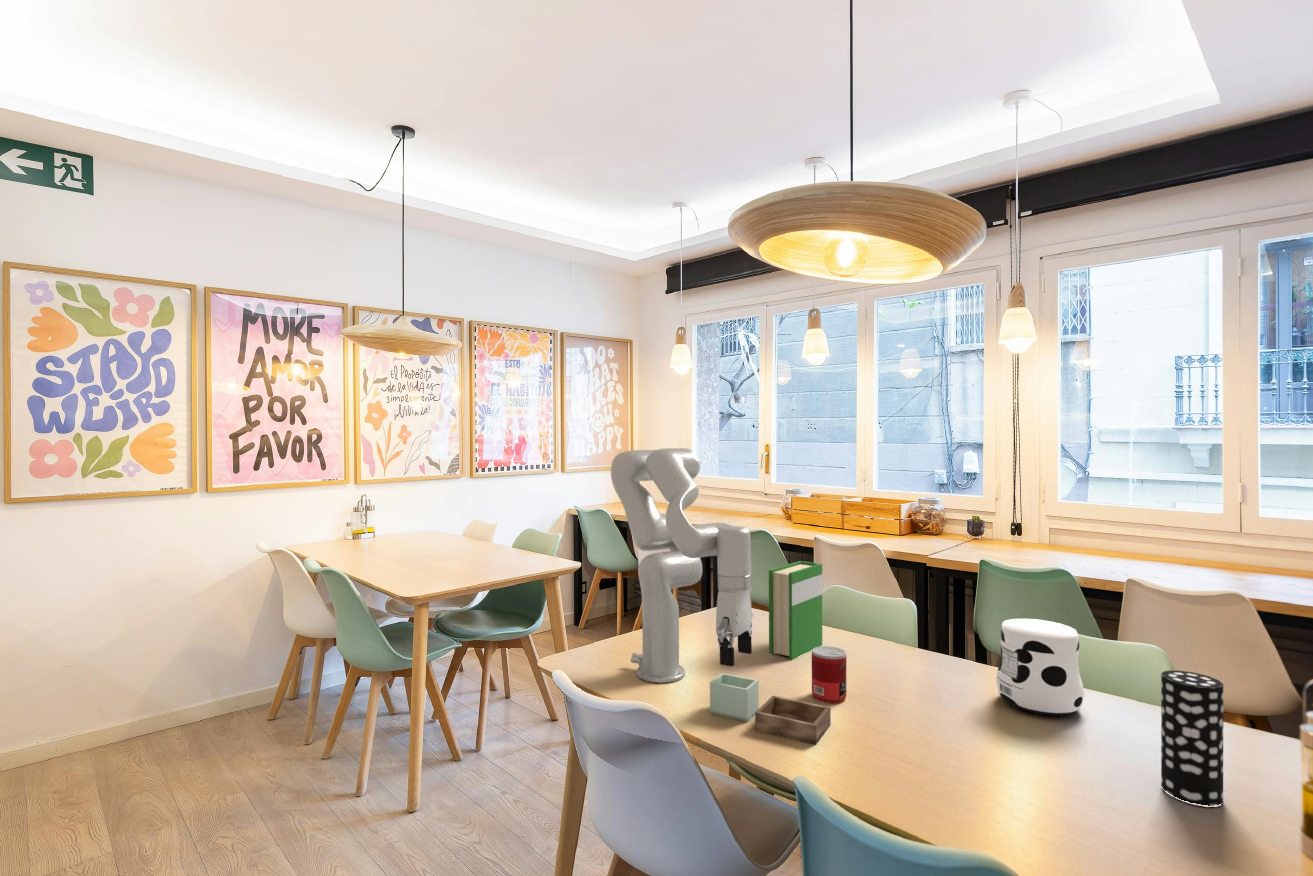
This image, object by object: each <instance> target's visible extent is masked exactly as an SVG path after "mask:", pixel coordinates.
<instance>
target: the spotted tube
mask: <svg viewBox="0 0 1313 876" xmlns="http://www.w3.org/2000/svg"><path fill="white" fill-rule="evenodd" d="M1160 678H1161V680H1160V681H1161V682H1160V683H1161V689H1160V692H1161V696H1160V698H1161V700H1160V702H1161V704H1160V706H1161V707H1160V709H1161V710H1160V712H1161V714H1160V715H1161V717H1160V718H1161V719H1160V721H1161V725H1160V730H1161V731H1160V733H1161V736H1160V739H1161V743H1160V746H1161V748H1160V750H1161V751H1160V754H1161V758H1160V761H1161V762H1160V765H1161V766H1160V771H1161V772H1160V775H1161V776H1160V782H1161V784H1160V785H1161V786H1162V787H1163V789H1164V790H1165V791H1167V792H1168V793H1169V794H1171V795H1173V796H1174V797H1177V798H1179V799H1181V800H1184V801H1188V802H1190V803H1196V804H1201V805H1208V806H1214V805H1219V804H1221V803H1223V804H1224V683H1223V682H1222V681H1220V680H1219V679H1218V678H1217V679H1216V678H1215V677H1212V676H1209V675H1205V674H1202V673H1197V672H1191V671H1184V670H1177V669H1176V670H1165V671H1162V672H1161V675H1160Z"/></svg>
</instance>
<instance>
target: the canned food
mask: <svg viewBox="0 0 1313 876" xmlns="http://www.w3.org/2000/svg"><path fill="white" fill-rule="evenodd" d="M811 694H812V697H813V698H814V700H817V701H818V702H822V703H826V704H839V703H840V702H841V703H843V702H845V700H846V697H847V652H846V651H845V649H841V648H839V647H835V646H829V645H826V646H825V645H824V646H823V645H821V646H819V647H815V648H813V649H812V651H811Z"/></svg>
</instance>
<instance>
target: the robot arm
mask: <svg viewBox="0 0 1313 876" xmlns="http://www.w3.org/2000/svg"><path fill="white" fill-rule="evenodd" d="M610 465H611V467H610V479H611V483H612V486H613V488H614V489H613V490H615V493H616V495H617V497H618V498H619V500H620V502H621V504H622V506H623V509H624V513H625V517H626V520H627V523H628V526H629V529H630V533H631V536H632V539H633V542H634V544H635V546H636V547H637V548H638V550H641V551H644V552H650V551H660V552H655V553H651V554H648V555H646V556H645V557H643V558H642V559H641V560H640V562H639V564H638V568H637V573H638V574H637V575H638V579H639V585H640V590H641V591H640V593H641V607H642V608H641V609H642V610H641V611H642V612H641V613H642V614H641V615H642V619H641V620H642V654H641V653H639V652H632V654H631V658H630V662H631V663H633V664H637V665H638V667H637V669H636V677H638V678H639V679H640V678H641V679H640V680H642V679H643V680H642V681H645V680H646V681H645V682H648V681H651V682H650V683H654V682H658V683H659V684H661V683H662V684H665V682H667V683H673V682H676V681H679V680H681V679H683V678H684V677H685V676H686V670H685V669H686V668H684V666H682V665H680V610H679V609H680V608H679V607H680V606H679V604H678V601H677V599H676V597H675V596H674V594H673V592H672V589H673V590H674V589H677V588H683V587H688V586H689V587H690V586H693V585H695V584H697V583H698V582H699V581H700V580H701V578H702V576H703V562H702V559H701V558H705V557H706V558H707V557H712V556H713V557H714V556H715V557H717V558H716V559H717V564H716V565H717V590H718V593H717V600H716V609H715V610H716V613H715V614H716V615H715V618H716V619H715V632H716V635H717V642H718V647H719V664H720V666H726V667H727V666H728V667H734V666H735V647H733V645H734V641H735V638H737V652H738V653H740V654H748V655H751V654H752V653H753V651H752V650H753V647H752V634H753V631H752V626H753V621H752V620H753V611H752V598H751V596H752V595H751V590H752V589H753V588H752V587H753V586H752V549H751V548H752V546H751V543H752V542H751V541H752V540H751V531H750V530H749V529H748V528H747V527H745V526H736V525H731V524H729V523H726V522H711V523H710V522H709V523H698V524H691V523H690V521H689V520H688V518H687V517H686V515H685V514H684V510H686V509H688V508H689V507H690V506H692V505H693V504H694V502H695V501H696V500H697V499H698V497H699V494H700V493H699V492H700V490H699V487H698V485H697V483H696V482H695V481H694V479H695V478H696V477H697V476H698V474H699V473H700V469H701V463H700V460H699V457H698V455H697V454H696V453H695V451H693V450H692V449H690V448H687V447H685V448H683V447H679V448H678V447H677V448H676V447H675V448H674V447H671V448H670V447H669V448H668V447H667V448H666V447H665V448H659V449H636V450H635V449H633V450H626V451H623V452H622V451H621V452H620V453H618V454H617V455H616V456H615V457H613V460H612V463H611V464H610ZM648 481H649V482H650V481H653V483H654V484H655V486H656V487H657V489H658V490H659V492H660V493H661V495H662V496H663V498H664V500H665V502H666V503H667V504H668V505H667V506H666V507H667V508H666V510H665V513H660V512H659V510H658V508H657V506H656V502H655V499H654V497H653V496H652V494H651V493H650V492H649V490H647V488H646V487H644V486H643V485H642V484H641V483H640V482H648ZM668 549H669V551H662V552H661V550H668Z"/></svg>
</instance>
